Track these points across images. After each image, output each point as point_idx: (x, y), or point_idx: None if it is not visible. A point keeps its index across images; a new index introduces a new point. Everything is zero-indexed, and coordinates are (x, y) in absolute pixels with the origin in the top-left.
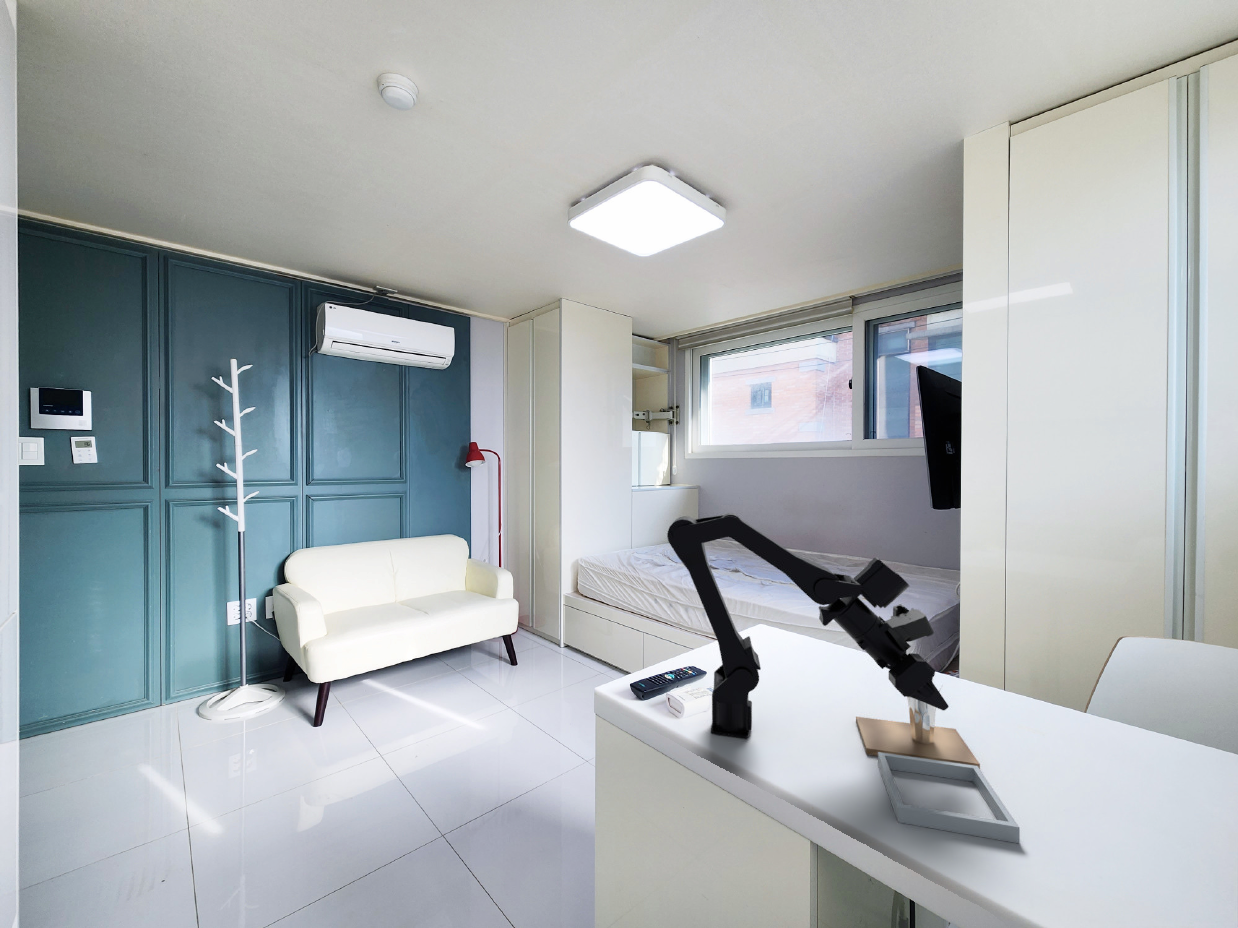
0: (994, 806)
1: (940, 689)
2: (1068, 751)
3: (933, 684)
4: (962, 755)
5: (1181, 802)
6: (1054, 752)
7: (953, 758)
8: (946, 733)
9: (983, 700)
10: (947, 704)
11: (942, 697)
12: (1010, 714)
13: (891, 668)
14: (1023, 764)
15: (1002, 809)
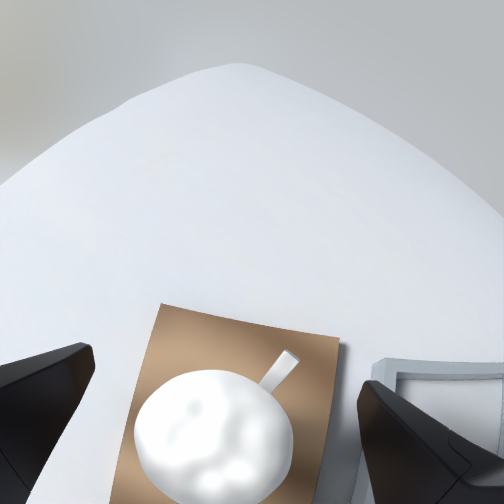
0: (475, 376)
1: (285, 370)
2: (233, 150)
3: (497, 457)
4: (304, 361)
5: (346, 125)
6: (238, 168)
7: (323, 391)
8: (185, 342)
9: (56, 179)
10: (383, 385)
11: (417, 408)
12: (106, 163)
13: (24, 492)
14: (291, 238)
15: (500, 370)
